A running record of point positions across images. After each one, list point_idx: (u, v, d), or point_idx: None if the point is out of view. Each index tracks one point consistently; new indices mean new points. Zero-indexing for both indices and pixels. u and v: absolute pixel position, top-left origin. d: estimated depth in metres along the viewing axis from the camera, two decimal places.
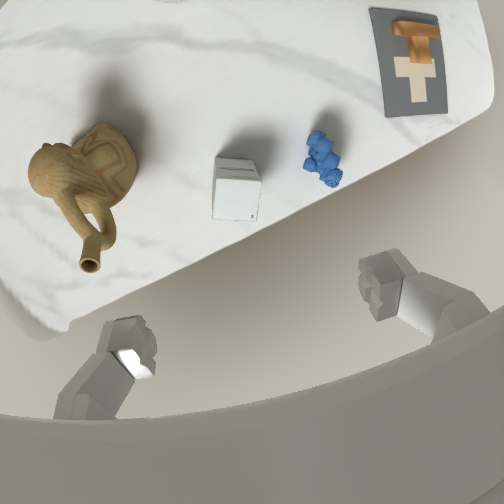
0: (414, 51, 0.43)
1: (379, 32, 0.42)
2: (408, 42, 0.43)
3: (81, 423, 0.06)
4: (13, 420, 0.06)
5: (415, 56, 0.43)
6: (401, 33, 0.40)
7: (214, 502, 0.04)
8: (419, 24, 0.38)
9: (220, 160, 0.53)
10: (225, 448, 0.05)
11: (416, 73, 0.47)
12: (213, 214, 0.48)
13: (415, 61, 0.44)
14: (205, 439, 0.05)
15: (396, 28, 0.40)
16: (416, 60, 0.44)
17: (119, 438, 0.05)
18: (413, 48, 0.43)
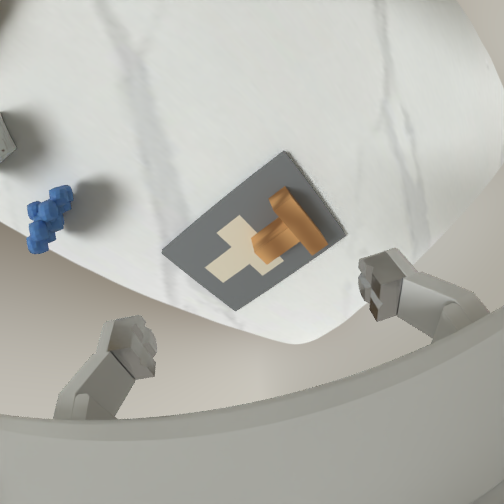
0: (266, 235, 0.44)
1: (257, 180, 0.41)
2: (275, 221, 0.45)
3: (81, 423, 0.06)
4: (13, 420, 0.06)
5: (260, 239, 0.44)
6: (274, 207, 0.40)
7: (214, 502, 0.04)
8: (308, 222, 0.41)
9: None
10: (225, 448, 0.05)
11: (244, 251, 0.48)
12: None
13: (254, 243, 0.45)
14: (205, 439, 0.05)
15: (279, 197, 0.41)
16: (256, 243, 0.44)
17: (119, 438, 0.05)
18: (269, 231, 0.44)
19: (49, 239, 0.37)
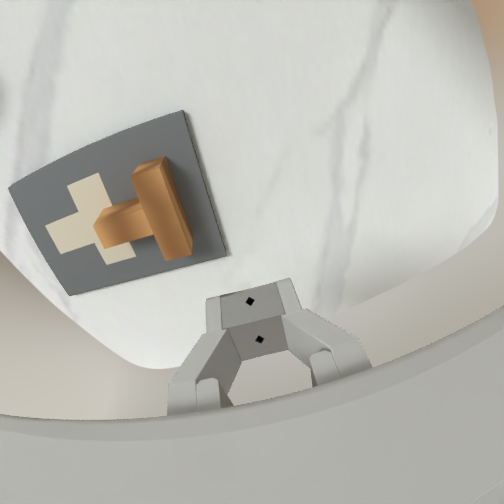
0: (117, 210, 0.29)
1: (133, 135, 0.27)
2: (137, 198, 0.31)
3: (81, 423, 0.06)
4: (13, 420, 0.06)
5: (108, 213, 0.29)
6: (134, 173, 0.26)
7: (214, 502, 0.04)
8: (171, 211, 0.28)
9: None
10: (225, 448, 0.05)
11: (91, 224, 0.32)
12: None
13: (100, 215, 0.29)
14: (205, 439, 0.05)
15: (148, 165, 0.28)
16: (102, 216, 0.29)
17: (118, 439, 0.05)
18: (123, 207, 0.30)
19: None
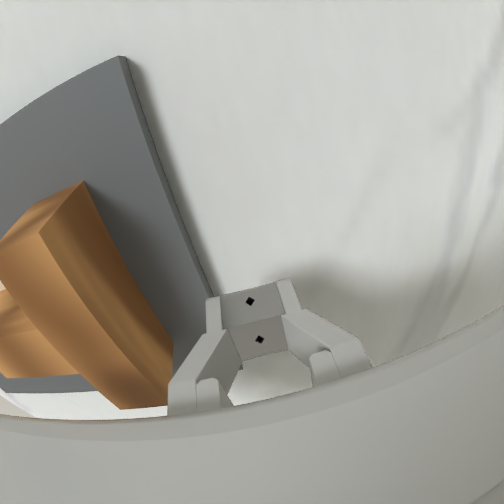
0: (8, 309, 0.11)
1: (12, 135, 0.08)
2: None
3: (81, 423, 0.06)
4: (13, 421, 0.06)
5: None
6: None
7: (214, 502, 0.04)
8: (103, 339, 0.10)
9: None
10: (225, 448, 0.05)
11: None
12: None
13: None
14: (205, 439, 0.05)
15: (36, 213, 0.09)
16: None
17: (119, 438, 0.05)
18: None
19: None
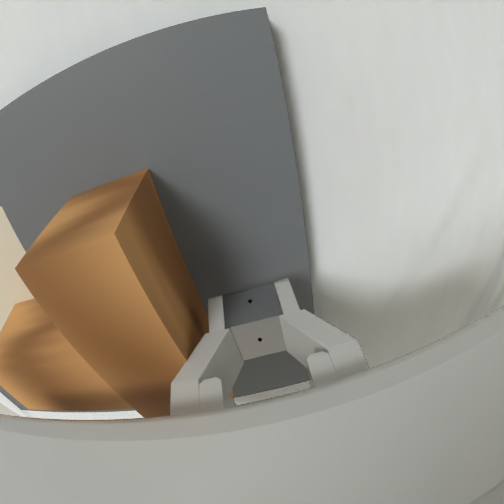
0: (32, 330, 0.09)
1: (90, 82, 0.07)
2: None
3: (81, 423, 0.06)
4: (12, 420, 0.06)
5: (16, 331, 0.09)
6: (34, 247, 0.06)
7: (214, 502, 0.04)
8: None
9: None
10: (225, 448, 0.05)
11: None
12: None
13: (3, 333, 0.09)
14: (205, 439, 0.05)
15: (87, 207, 0.07)
16: (5, 336, 0.09)
17: (119, 438, 0.05)
18: (45, 321, 0.09)
19: None
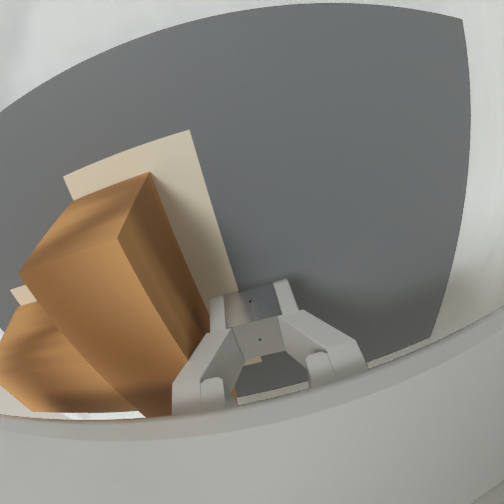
0: (35, 332, 0.09)
1: (346, 25, 0.07)
2: None
3: (81, 423, 0.06)
4: (13, 420, 0.06)
5: (20, 334, 0.09)
6: (37, 252, 0.06)
7: (214, 502, 0.04)
8: None
9: None
10: (225, 448, 0.05)
11: None
12: None
13: (6, 335, 0.09)
14: (205, 439, 0.05)
15: (89, 211, 0.07)
16: (8, 339, 0.09)
17: (119, 438, 0.05)
18: (48, 324, 0.09)
19: None
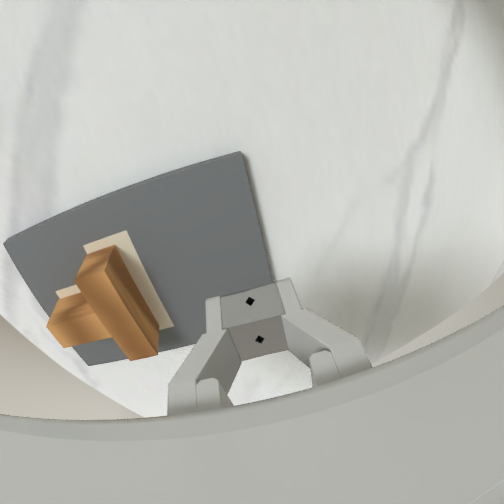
0: (70, 307, 0.24)
1: (176, 183, 0.22)
2: None
3: (81, 423, 0.06)
4: (13, 420, 0.06)
5: (62, 309, 0.24)
6: (79, 274, 0.21)
7: (214, 502, 0.04)
8: (127, 315, 0.23)
9: None
10: (225, 448, 0.05)
11: None
12: None
13: (54, 311, 0.24)
14: (205, 439, 0.05)
15: (95, 260, 0.22)
16: (56, 312, 0.24)
17: (119, 438, 0.05)
18: (76, 303, 0.24)
19: None
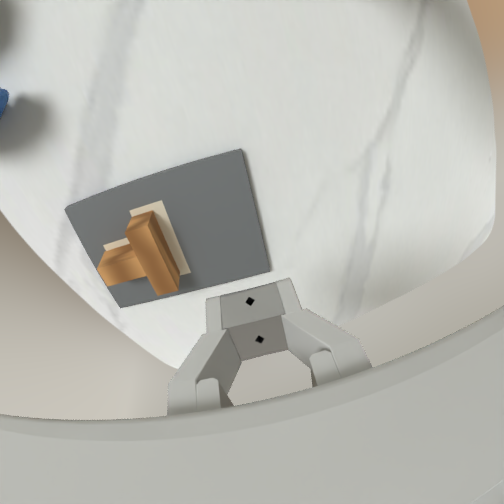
0: (116, 255, 0.36)
1: (197, 169, 0.34)
2: None
3: (81, 423, 0.06)
4: (12, 420, 0.06)
5: (109, 257, 0.36)
6: (128, 228, 0.33)
7: (214, 502, 0.04)
8: (159, 258, 0.35)
9: None
10: (225, 448, 0.05)
11: None
12: None
13: (102, 259, 0.36)
14: (205, 439, 0.05)
15: (139, 220, 0.34)
16: (104, 259, 0.36)
17: (119, 438, 0.05)
18: (121, 252, 0.36)
19: None
